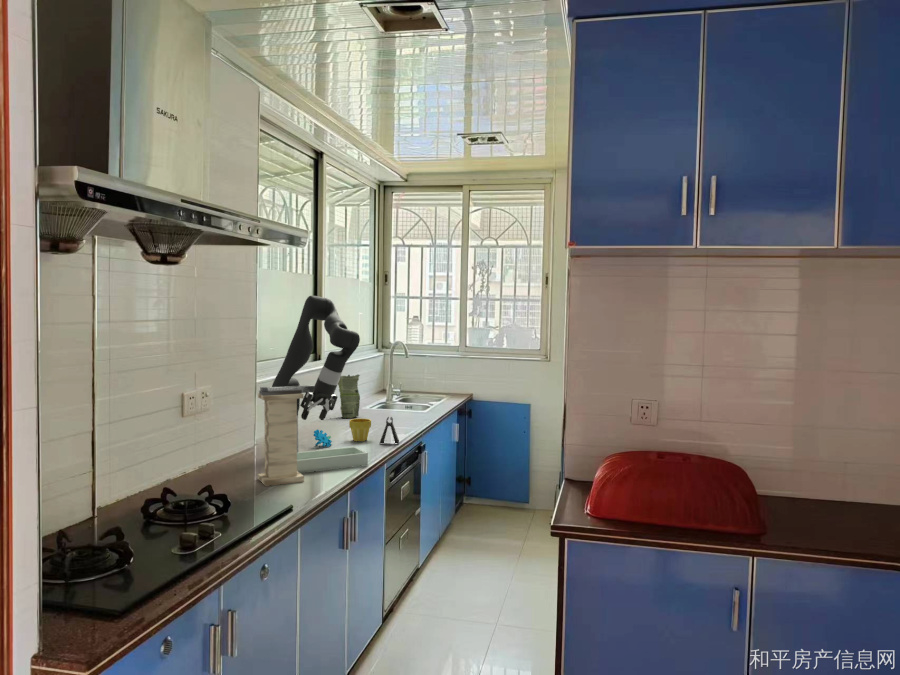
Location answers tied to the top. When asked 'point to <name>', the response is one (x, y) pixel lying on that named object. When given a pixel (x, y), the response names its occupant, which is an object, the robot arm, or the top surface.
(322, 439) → the gear
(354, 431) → the plant pot
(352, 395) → the pouch
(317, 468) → the tray
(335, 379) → the robot arm
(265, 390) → the grey metal block
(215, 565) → the top surface
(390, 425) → the pliers
